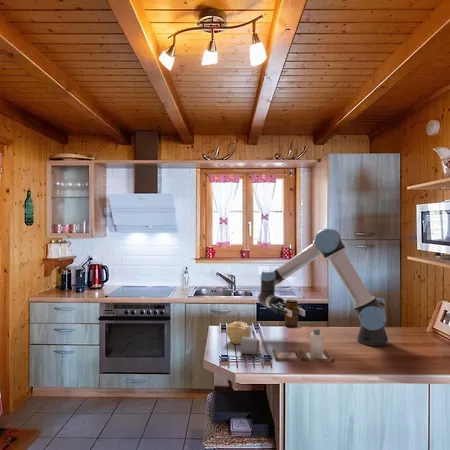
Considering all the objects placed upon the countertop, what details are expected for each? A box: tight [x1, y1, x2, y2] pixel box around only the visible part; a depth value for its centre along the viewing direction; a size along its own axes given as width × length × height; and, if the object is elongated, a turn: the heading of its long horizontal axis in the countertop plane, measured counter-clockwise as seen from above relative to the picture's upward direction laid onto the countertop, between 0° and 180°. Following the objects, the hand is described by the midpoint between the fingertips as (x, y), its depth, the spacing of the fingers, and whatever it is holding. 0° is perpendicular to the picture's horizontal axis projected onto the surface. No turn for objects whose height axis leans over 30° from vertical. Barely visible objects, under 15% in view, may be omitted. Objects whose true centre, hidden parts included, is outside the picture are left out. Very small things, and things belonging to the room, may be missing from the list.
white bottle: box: [309, 328, 324, 358], centre depth 160 cm, size 6×6×12 cm
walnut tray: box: [272, 348, 335, 363], centre depth 160 cm, size 25×12×2 cm, turn 90°
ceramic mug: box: [240, 336, 260, 356], centre depth 167 cm, size 11×8×8 cm
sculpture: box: [226, 321, 252, 346], centre depth 182 cm, size 12×12×11 cm
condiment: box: [281, 299, 303, 329], centre depth 169 cm, size 7×8×12 cm
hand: (297, 313), depth 164 cm, fingers closed on condiment, 6 cm apart
